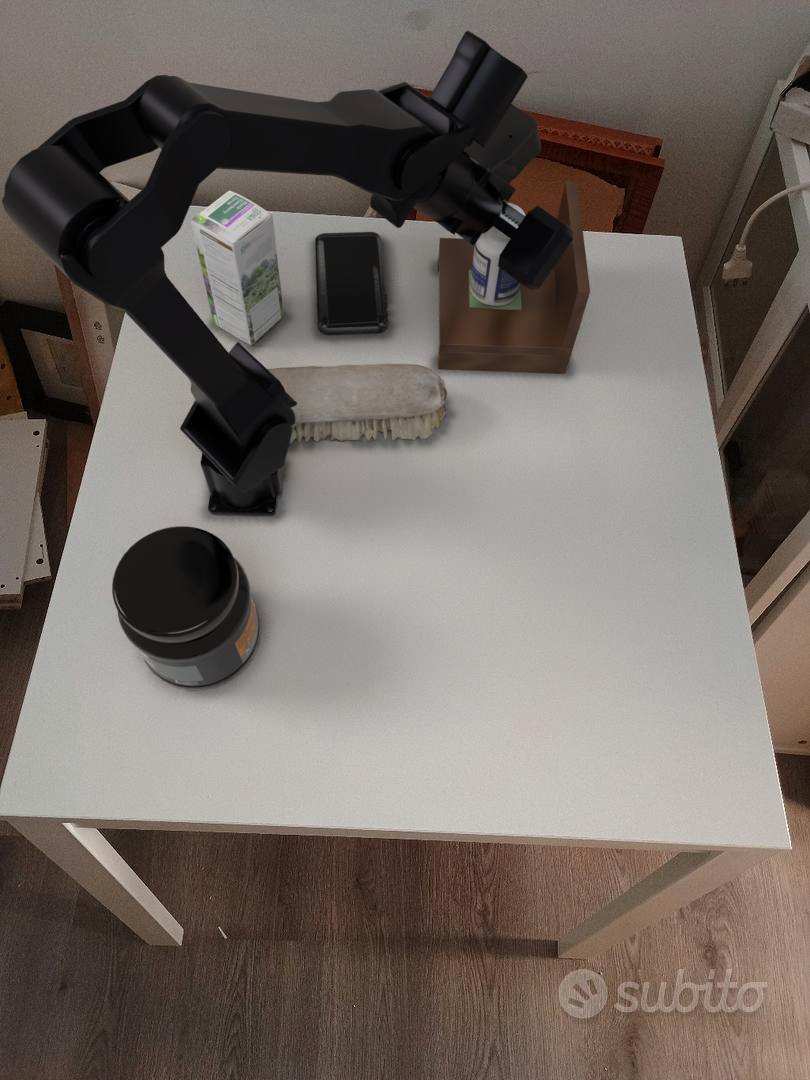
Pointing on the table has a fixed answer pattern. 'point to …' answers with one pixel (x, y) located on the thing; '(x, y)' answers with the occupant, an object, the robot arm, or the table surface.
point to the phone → (350, 283)
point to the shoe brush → (364, 400)
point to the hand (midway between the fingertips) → (513, 230)
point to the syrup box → (239, 266)
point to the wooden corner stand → (514, 309)
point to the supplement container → (186, 607)
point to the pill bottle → (493, 268)
